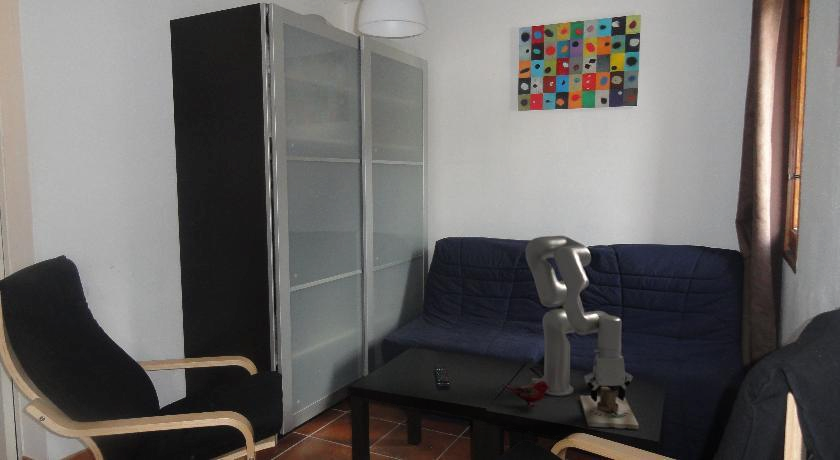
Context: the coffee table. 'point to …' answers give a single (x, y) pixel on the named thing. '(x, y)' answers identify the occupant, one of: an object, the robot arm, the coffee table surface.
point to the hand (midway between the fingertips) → (607, 399)
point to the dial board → (608, 414)
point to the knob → (607, 401)
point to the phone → (538, 370)
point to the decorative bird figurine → (531, 392)
